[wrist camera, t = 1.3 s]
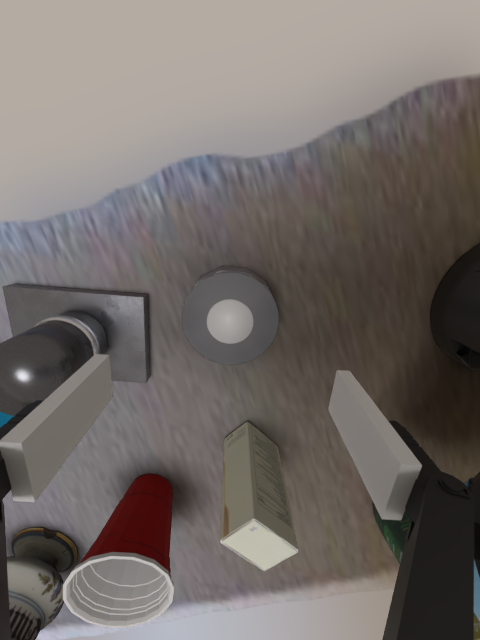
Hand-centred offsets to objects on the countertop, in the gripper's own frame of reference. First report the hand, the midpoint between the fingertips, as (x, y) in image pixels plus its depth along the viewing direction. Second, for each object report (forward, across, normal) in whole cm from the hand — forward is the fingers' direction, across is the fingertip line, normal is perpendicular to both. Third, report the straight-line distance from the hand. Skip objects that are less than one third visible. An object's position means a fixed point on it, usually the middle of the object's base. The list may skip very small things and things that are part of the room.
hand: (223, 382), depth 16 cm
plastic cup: (+15, +9, +27) cm, 32 cm away
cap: (+15, 0, 0) cm, 15 cm away
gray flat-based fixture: (+15, +16, +4) cm, 22 cm away
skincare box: (+15, -4, +18) cm, 24 cm away
